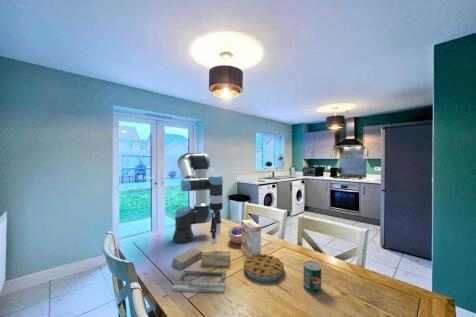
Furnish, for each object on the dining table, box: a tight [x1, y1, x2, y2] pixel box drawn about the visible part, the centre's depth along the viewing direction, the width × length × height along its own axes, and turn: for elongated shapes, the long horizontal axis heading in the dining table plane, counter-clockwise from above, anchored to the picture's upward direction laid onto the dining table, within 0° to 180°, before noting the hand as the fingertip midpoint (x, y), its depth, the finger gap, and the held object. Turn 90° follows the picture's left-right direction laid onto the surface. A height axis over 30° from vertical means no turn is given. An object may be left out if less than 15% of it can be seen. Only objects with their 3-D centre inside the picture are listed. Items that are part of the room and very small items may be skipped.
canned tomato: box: [303, 260, 322, 295], centre depth 94 cm, size 8×8×11 cm
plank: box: [200, 249, 231, 267], centre depth 117 cm, size 5×16×6 cm, turn 86°
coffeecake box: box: [240, 219, 262, 258], centre depth 128 cm, size 15×7×20 cm, turn 23°
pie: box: [242, 253, 285, 283], centre depth 109 cm, size 22×22×5 cm
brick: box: [172, 247, 203, 270], centre depth 119 cm, size 17×8×5 cm, turn 145°
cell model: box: [226, 225, 241, 245], centre depth 146 cm, size 17×20×11 cm
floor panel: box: [171, 270, 226, 294], centre depth 99 cm, size 14×24×1 cm, turn 86°
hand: (216, 239), depth 116 cm, fingers open, 13 cm apart
